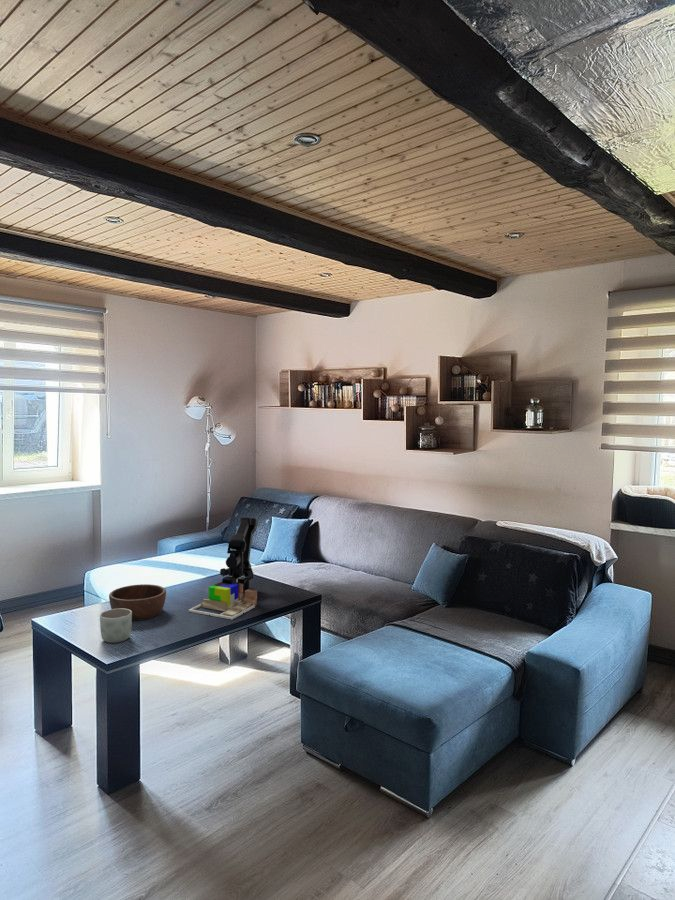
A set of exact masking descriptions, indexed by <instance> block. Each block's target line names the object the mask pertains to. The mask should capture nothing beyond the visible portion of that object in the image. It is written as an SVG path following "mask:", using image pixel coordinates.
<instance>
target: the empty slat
mask: <svg viewBox="0 0 675 900" xmlns="http://www.w3.org/2000/svg"><path fill="white" fill-rule="evenodd" d="M244 598H245V603H243V604H240V605H238V606H236V607H234V608H232V609H230V610H229V611H227V612H225V611H224V612H225V613H223V612H222V613H223V615H225V616H231V617H233V616H235V615H236V614H238V613H240V612H242V611H244V610H246V609H247V608H249V607H251V606H253V605H255V606H257V605H258V590H256V589H252V590H250V589H247V590H245V592H244Z"/></svg>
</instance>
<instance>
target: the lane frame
mask: <svg viewBox="0 0 675 900" xmlns="http://www.w3.org/2000/svg"><path fill="white" fill-rule="evenodd" d="M240 604H244V603H240ZM240 604H238V605H240ZM238 605H237V606H238ZM235 607H236V606H235ZM199 608H202V607H201V603H200V604H197V605H195V606H193V607H191V608H190V609H188V613H193V614H200V615H205V616H209V615H210V616H209V617H215V618H222V619H227V620H234V619H237V618H238V617H240V616H242V615H244V614H245V613H247V612H249V611H251V610H252V609H255V608H256V605H253V606H250V607H249V608H247V609H246V610H244V611H242V612H240V613H238V614H236V615H235V616H233V617H231V616H225V615H223V613H225V612H227V611H229V610H230V609H229V610H227V611H222V612H221V613H220V614H218V613H214V612H208V611H201V610H197V609H199ZM233 608H234V607H233ZM231 609H232V608H231ZM243 613H244V614H243Z"/></svg>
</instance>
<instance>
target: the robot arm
mask: <svg viewBox="0 0 675 900" xmlns="http://www.w3.org/2000/svg"><path fill="white" fill-rule="evenodd" d="M258 526H259V520H258V519H257V518H256V517H249V516H242V517H241V518H240V523H239V525H238V528H237V530H236V533H235V534H234V535H232V537H231V538H230V539H229V541H228V546H227V550H226V551H227V552H226V554H229V556H228V557H227V558H226V560H225V564H226V565H225V566H226V567H227V568H224V567H223V568H221V569H220V570H219V575H221V576H222V577H223V578H222V579H221V582H222V583H228V584H238V587H239V584H243V593H245V590H247V589H250V590H254V589H253V587H251V580H253V579H254V576H255V575H254V571H253V568H252V564H251V562H250V559H251V558H250V557H251V556H250V555H251V552H252V551H251V550H252V543H253V535H254V534H255V532H257V528H258Z"/></svg>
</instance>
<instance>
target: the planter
mask: <svg viewBox="0 0 675 900" xmlns="http://www.w3.org/2000/svg"><path fill="white" fill-rule="evenodd" d="M132 625H133V620H132V611H131V610H129V609H123V608H119V609H111V608H110V609H108V610H104V611H102V612H101V613H100V614H99V627H100V634H101V635H100V637H101V639H102V640H103V641H104V642H106V643H109V644H110V643H111V644H115V643H122V642H125V641H127V640H128V639H129V638H130V637H131V634H132V627H133V626H132Z"/></svg>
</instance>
